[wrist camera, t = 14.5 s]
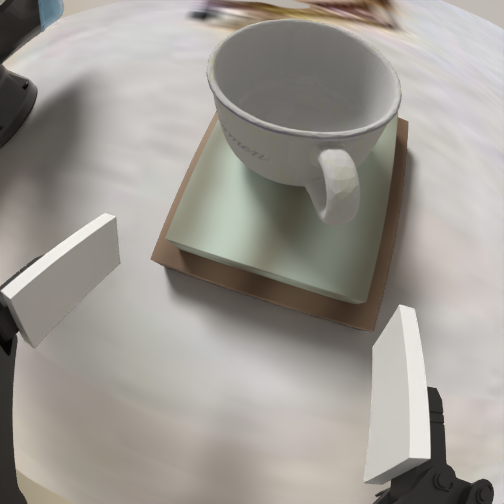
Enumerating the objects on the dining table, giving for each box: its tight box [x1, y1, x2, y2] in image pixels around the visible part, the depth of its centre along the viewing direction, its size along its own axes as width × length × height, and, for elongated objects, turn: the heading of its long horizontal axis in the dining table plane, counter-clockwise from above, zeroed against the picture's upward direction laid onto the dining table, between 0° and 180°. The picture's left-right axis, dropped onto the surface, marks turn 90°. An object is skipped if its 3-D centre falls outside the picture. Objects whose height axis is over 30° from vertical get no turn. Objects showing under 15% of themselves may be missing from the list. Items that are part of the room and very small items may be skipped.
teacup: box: [206, 19, 402, 226], centre depth 17 cm, size 14×11×8 cm
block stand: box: [151, 111, 408, 331], centre depth 23 cm, size 18×20×6 cm
